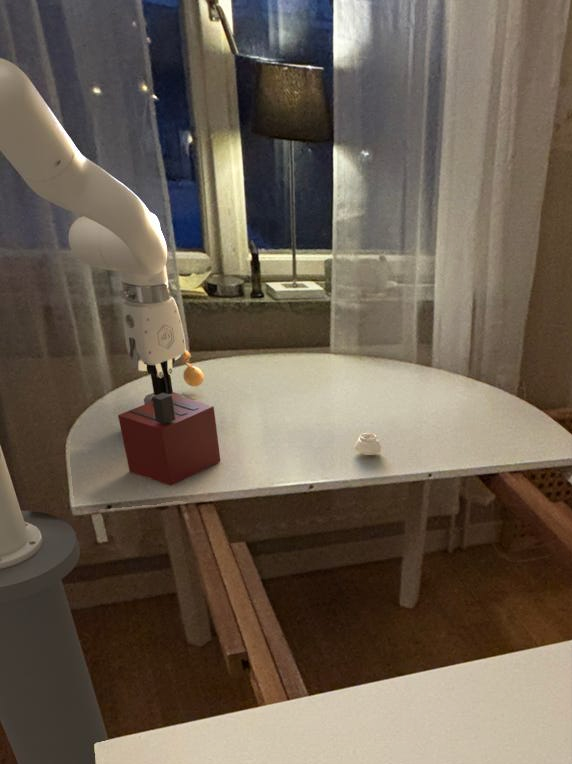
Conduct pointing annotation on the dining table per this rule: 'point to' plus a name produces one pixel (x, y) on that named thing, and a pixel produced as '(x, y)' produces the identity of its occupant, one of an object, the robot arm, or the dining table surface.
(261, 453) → the dining table surface
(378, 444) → the white jar
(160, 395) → the slider
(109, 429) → the dining table surface
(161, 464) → the toaster
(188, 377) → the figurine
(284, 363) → the dining table surface
